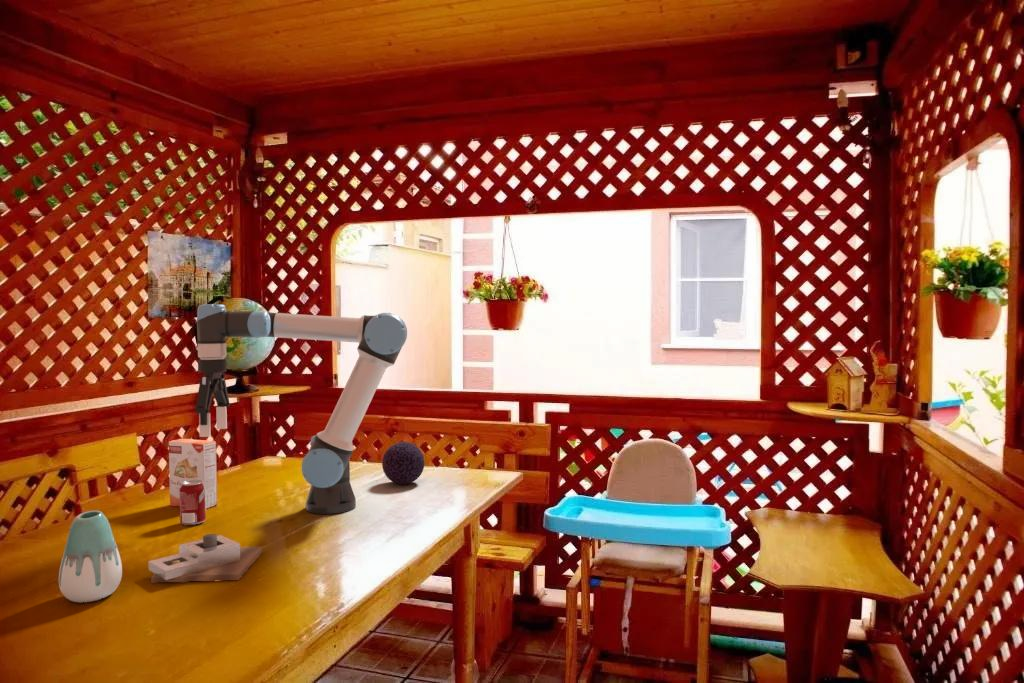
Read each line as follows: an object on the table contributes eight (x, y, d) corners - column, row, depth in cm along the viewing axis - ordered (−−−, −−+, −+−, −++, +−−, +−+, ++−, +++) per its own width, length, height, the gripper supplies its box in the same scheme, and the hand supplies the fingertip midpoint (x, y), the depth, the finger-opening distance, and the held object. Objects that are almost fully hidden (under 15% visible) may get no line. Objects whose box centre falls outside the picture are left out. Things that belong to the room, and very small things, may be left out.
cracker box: (168, 506, 218) (167, 440, 217) (183, 501, 224) (182, 437, 223) (203, 510, 213) (202, 443, 213) (218, 505, 219) (216, 440, 218)
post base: (262, 552, 175) (262, 523, 174) (238, 580, 156) (238, 547, 155) (185, 554, 173) (184, 524, 173) (151, 583, 154) (150, 550, 154)
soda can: (195, 527, 196) (195, 485, 196) (174, 526, 197) (174, 484, 197) (210, 520, 203) (209, 480, 202) (190, 519, 204) (189, 479, 204)
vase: (76, 612, 139) (74, 524, 139) (48, 600, 145) (46, 516, 145) (133, 593, 149) (132, 510, 148) (105, 582, 155) (103, 503, 155)
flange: (220, 550, 172) (220, 534, 171) (240, 560, 165) (239, 543, 165) (148, 569, 159) (147, 552, 159) (166, 580, 152) (165, 562, 152)
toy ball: (374, 486, 243) (373, 444, 242) (396, 477, 257) (395, 437, 256) (411, 490, 237) (411, 447, 237) (432, 480, 251) (431, 439, 251)
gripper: (213, 356, 209) (215, 426, 210) (181, 361, 184) (183, 440, 185) (239, 356, 210) (240, 425, 210) (210, 360, 185) (211, 439, 185)
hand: (213, 432), depth 197 cm, fingers open, 13 cm apart
